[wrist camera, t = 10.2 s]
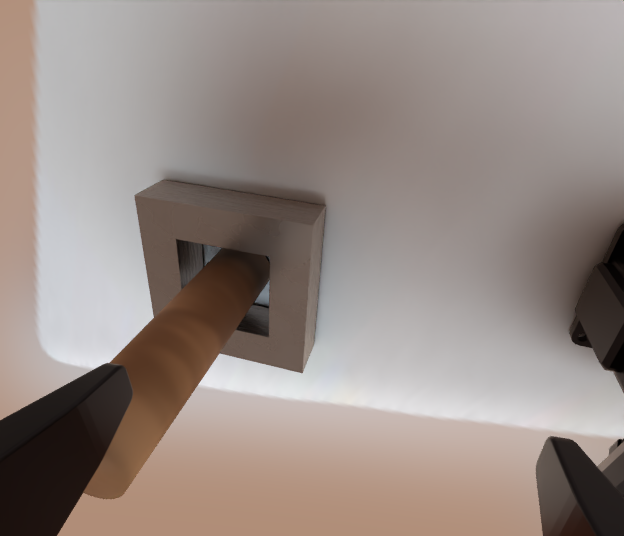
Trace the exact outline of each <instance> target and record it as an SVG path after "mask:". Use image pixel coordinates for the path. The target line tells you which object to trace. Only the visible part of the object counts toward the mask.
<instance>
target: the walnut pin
mask: <svg viewBox="0 0 624 536" xmlns="http://www.w3.org/2000/svg"><path fill="white" fill-rule="evenodd" d="M269 278H270V265H269V262H268V260H267V258H266V257H265V256H264V255H258V254H253V253H248V252H242V251H237V250H232V249H227V248H222V249H221V250H220V251H219V252H218V253H217V254H216V255H215V256H214V257H213V258H212V259H211V261H210V262H209V263H208V264H207V265H206V266H205V267H204V268H203V269H202V270H201V271H200V272H199V273H198V274H197V275H196V276H195V277H194V278H193V279H192V280H191V281H190V282H189V283H188V284H187V285H186V286H185V287H184V288H183V289H182V290H181V291H180V292H179V293H178V294H177V295H176V296H175V297H174V298H173V299H172V300H171V301H170V302H169V303H168V304H167V305H166V306H165V307H164V308H163V309H162V310H161V311H160V312H159V313H158V314H157V315H156V316H155V317H154V318H153V319H152V320H151V321H150V322H149V323H148V324H147V325H146V326H145V327H144V328H143V329H142V331H141V332H140V333H139V334H138V335H137V336H136V337H135V338H134V339H133V340H132V341H131V342H130V343H129V344H128V345H127V346H126V347H125V348H124V349H123V350H122V351H121V352H120V353H119V354H118V355H117V356H116V357H115V358H114V359H113V360H112V361H111V362H110V363H113V364H119V365H123V366H124V367H125V368H126V370H127V373H128V376H129V379H130V382H131V385H132V388H133V397H132V400H131V403H130V405H129V407H128V409H127V411H126V413H125V415H124V417H123V419H122V421H121V423H120V425H119V427H118V429H117V431H116V434H115V436H114V438H113V440H112V442H111V444H110V446H109V448H108V450H107V452H106V454H105V456H104V458H103V460H102V462H101V463H100V465H99V467H98V469H97V470H96V472H95V474H94V475H93V477H92V479H91V480H90V482H89V484H88V485H87V487H86V489H85V490H84V492H83V493H85V494H88V495H90V496H94V497H97V498H103V499H115V498H118V497H120V496H122V495H123V494H124V493H125V491H126V490H127V488H128V487H129V486H130V484H131V483H132V481H133V480H134V478H135V477H136V475H137V474H138V472H139V471H140V469H141V468H142V466H143V465H144V463H145V462H146V461H147V459H148V458H149V456H150V455H151V453H152V452H153V450H154V449H155V447H156V446H157V444H158V443H159V441H160V440H161V438H162V437H163V436H164V434H165V433H166V431H167V430H168V428H169V427H170V425H171V424H172V422H173V421H174V419H175V418H176V416H177V415H178V413H179V412H180V410H181V409H182V408H183V406H184V405H185V403H186V402H187V400H188V399H189V397H190V396H191V394H192V393H193V391H194V390H195V388H196V387H197V386H198V384H199V383H200V381H201V380H202V378H203V377H204V375H205V374H206V372H207V371H208V369H209V368H210V366H211V365H212V363H213V362H214V361H215V359H216V358H217V356H218V355H219V353H220V352H221V350H222V349H223V347H224V346H225V344H226V343H227V341H228V340H229V338H230V337H231V335H232V334H233V333H234V331H235V330H236V328H237V327H238V325H239V324H240V322H241V321H242V319H243V318H244V316H245V315H246V313H247V312H248V310H249V309H250V308H251V306H252V305H253V303H254V302H255V300H256V299H257V297H258V296H259V294H260V293H261V291H262V290H263V288H264V287H265V285H266V284H267V282H268V281H269Z"/></svg>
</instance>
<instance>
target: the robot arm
mask: <svg viewBox="0 0 624 536" xmlns="http://www.w3.org/2000/svg"><path fill="white" fill-rule="evenodd" d="M575 311H576V314H577V316H576V319H575V321H574V323H573V325H572V327H571V329H570V332H569V334H570V337H571V339H572V341H573V342H574V343H575V344H577V345H580V346H585V347H590V348H593V350H594V352H595V354H596V356H597V358H598V360H599V362H600V364H601V365H602V367H603V368H604V369H605V370H608V371H613V372H614V374H615V376H616V378H617V380H618V382H619V384H620V386H621V388H622V390H623V392H624V223H623V224H622V225H621V226H620V227H619V228H618V230H617V232H616V234H615V236H614V239H613V241H612V243H611V245H610V247H609V249H608V251H607V253H606V255H605V258H604V260H603V262H601V263H599V264H598V265H596V266H595V267H594V269H593V272H592V274H591V276H590V278H589V280H588V282H587V284H586V287H585V289H584V291H583V293H582V295H581V297H580V299H579V302H578V304H577V306H576V308H575ZM581 333H586V335H585V336H582V337H579V336H578V335H579V334H581ZM132 397H133V388H132V385H131V382H130V379H129V376H128V373H127V370H126V368H125V367H124V366H123V365H119V364H113V363H106V364H103V365H101V366H99V367H98V368H96V369H94V370H92V371H90V372H88V373H87V374H85V375H83V376H81V377H79V378H77V379H75V380H74V381H72V382H70V383H68V384H66V385H64V386H63V387H61V388H59V389H57V390H55V391H54V392H52V393H50V394H48V395H46V396H44V397H43V398H40V399H39V400H37V401H35V402H33V403H31V404H29V405H28V406H26V407H24V408H22V409H20V410H19V411H17V412H15V413H13V414H11V415H9V416H7V417H6V418H4V419H2V420H0V536H57V535H58V533H59V531H60V530H61V528H62V527H63V525H64V523H65V522H66V520H67V518H68V517H69V515H70V513H71V512H72V510H73V508H74V507H75V505H76V503H77V502H78V500H79V499H80V497H81V495H82V494H83V492H84V490H85V489H86V487H87V485H88V484H89V482H90V480H91V479H92V477H93V475H94V474H95V472H96V470H97V469H98V467H99V465H100V463H101V462H102V460H103V458H104V456H105V454H106V452H107V450H108V448H109V446H110V444H111V442H112V440H113V438H114V436H115V434H116V431H117V429H118V427H119V425H120V423H121V421H122V419H123V417H124V415H125V413H126V411H127V409H128V407H129V405H130V403H131V400H132ZM536 479H537V488H538V497H539V505H540V514H541V523H542V531H543V536H624V439H623V440H622V439H619V440H617V441H616V442H615V443H614V444H613V445H612V446H611V447H610V449H609V456H608V457H607V458H606V459H605V460H604V461H603V462H602V463H601V464H599V466H596V465H595V464H594V463H593V462H592V460H591V459H590V458H589V457H588V456H587V455H586V454H585V452H584V451H583V450H582V449H581V448H580V447H579V446H578V444H577V443H575V442H574V441H573V440H570V439H565V438H560V437H554V436H550V437H548V439H547V440H546V442H545V444H544V446H543V449H542V451H541V454H540V456H539V458H538V461H537V465H536Z"/></svg>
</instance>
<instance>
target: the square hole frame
mask: <svg viewBox="0 0 624 536" xmlns="http://www.w3.org/2000/svg"><path fill="white" fill-rule="evenodd" d="M135 201H136V207H137V214H138V220H139V226H140V233H141V239H142V245H143V251H144V258H145V264H146V270H147V277H148V283H149V289H150V295H151V302H152V308H153V314H154V317H155V316H156V315H157V314H158V313H159V312H160V311H161V310H162V309H163V308H164V307H165V306H166V305H167V304H168V303H169V302H170V301H171V300H172V299H173V298H174V297H175V296H176V295H177V294H178V293H179V292H180V291H181V290H182V289H183V288H184V287H185V286H186V285H187V284H188V283H189V282H190V281H191V280H192V279H193V278H194V277H195V276H196V275H197V274H198V273H199V272H200V271H201V270H202V269H203V256H202V244H205V245H211V246H216V247H221V248H227V249H232V250H237V251H242V252H248V253H253V254H258V255H264V256H269V257H270V289H269V308H265V307H261V306H256V305H252V306H251V308H250V309H249V310H248V312H247V313H246V315H245V316H244V318H243V319H242V321H241V322H240V324H239V325H238V327H237V328H236V330H235V331H234V333H233V334H232V335H231V337H230V338H229V340H228V341H227V343H226V344H225V346H224V347H223V349H222V350H221V352H220V353H221V354H225V355H229V356H233V357H237V358H241V359H246V360H250V361H254V362H258V363H262V364H266V365H271V366H275V367H279V368H283V369H287V370H291V371H296V372H300V373H303V371H304V368H305V366H306V363H307V361H308V358H309V356H310V353H311V351H312V348H313V346H314V338H315V326H316V314H317V302H318V291H319V279H320V267H321V255H322V243H323V232H324V220H325V208H326V206H324V205H318V204H312V203H306V202H299V201H293V200H287V199H281V198H274V197H268V196H262V195H256V194H249V193H243V192H237V191H231V190H224V189H218V188H212V187H206V186H199V185H193V184H187V183H180V182H174V181H168V180H161V181H160V182H158V183H156V184H154V185H152V186H151V187H149V188H147V189H145V190H143V191H141V192H140V193H138V194H136V195H135Z"/></svg>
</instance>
